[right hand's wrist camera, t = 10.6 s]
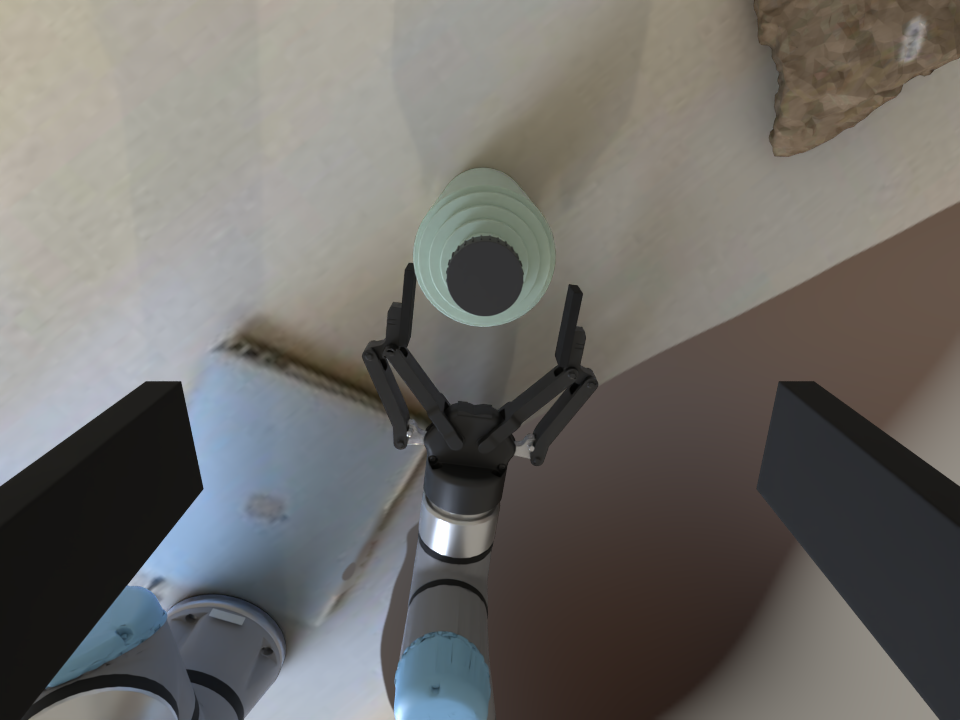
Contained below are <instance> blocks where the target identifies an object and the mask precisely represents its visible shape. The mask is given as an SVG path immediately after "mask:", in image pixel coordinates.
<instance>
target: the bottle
mask: <svg viewBox="0 0 960 720" xmlns="http://www.w3.org/2000/svg"><path fill="white" fill-rule="evenodd" d="M480 235H482V236H489V235H491V236H492V237H496V238H497V237H499V239H501V240H503V241H504V242H505V241H507V244H509V245H510V246H512V247H513V249H514V251H515V252H516V253H518V256H519V260H520V261H521V263H522V269H523V272H524V275H523V281H524V283H523V287H522V291H521V293H520V295H519V297H518V299H517V300H516V301H515V303H514V304H513V305H512V306H511V307H510V308H508V309H507V310H505V311H504V312H502V313H500V314H497V315H493V316H477V315H473V314H470V313H468V312H466V311H464V310H463V309H461V308H460V307H459V306H458V305H457V304H456V303H455V302H454V300H453V299H452V297H451V295H450V293H449V291H448V287H447V282H446V278H447V274H446V270H447V267H448V262H449V259H450V260H451V256H452V253H453V252H455V250H456V249H457V246H458V245H459V246H460V245H461V244H462V243H464V241H465V240H466V241H467V240H469V239H471V238H472V237H478V236H480ZM555 255H556V253H555V244H554V239H553V235H552V232H551V230H550V227H549V225H548V223H547V221H546V219H545V218H544V216H543V215H542V213H541V212H540V211H539V209H538V208H537V207H536V206H535V205H534V203H533V202H532V201H531V200H530V198H529V197H528V196H527V195H526V194H525V192H524V191H523V190H522V189H521V188H520V186H519V185H518V184H517V183H516V182H515V181H514V180H513V179H512V178H511V177H510V176H508V175H507V174H505V173H503V172H501V171H499V170H496V169H492V168H474V169H471V170H467V171H465V172H463V173H461V174H459V175H458V176H456V177H455V178H454V179H453V180H452V181H451V182H450V183H449V184H448V185H447V187H446V188H445V190H444V191H443V192H442V194H441V195H440V196H439V198H438V199H437V201H436V202H435V203H434V205H433V206H432V208H431V209H430V210H429V212H428V213H427V215H426V216H425V218H424V219H423V221H422V223H421V225H420V227H419V229H418V232H417V235H416V238H415V243H414V250H413V262H414V269H415V274H416V277H417V280H418V283H419V285H420V287H421V289H422V291H423V293H424V294H425V296H426V297H427V299H428V300H429V301H430V302H431V303H432V304H433V306H435V307H436V308H437V309H438V310H439V311H440V312H442V313H443V314H444V315H446V316H447V317H449V318H451V319H453V320H455V321H458V322H460V323H463V324H467V325H471V326H479V327H490V326H497V325H501V324H505V323H508V322H511V321H513V320H515V319H517V318H519V317H521V316H523V315H524V314H525V313H527V312H528V311H529V310H531V309H532V308H533V307H534V306H535V305H536V304H537V303H538V302H539V300H540V299H541V298H542V297H543V295H544V293H545V292H546V290H547V288H548V286H549V284H550V282H551V279H552V276H553V272H554V267H555Z"/></svg>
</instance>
